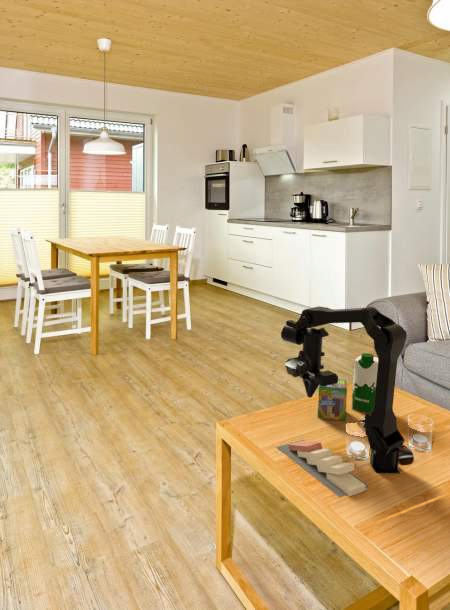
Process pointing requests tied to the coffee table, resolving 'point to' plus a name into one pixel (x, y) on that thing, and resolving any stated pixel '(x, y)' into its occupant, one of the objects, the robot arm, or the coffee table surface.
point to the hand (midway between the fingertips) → (309, 397)
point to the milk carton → (364, 382)
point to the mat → (313, 469)
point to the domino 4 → (337, 468)
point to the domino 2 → (315, 454)
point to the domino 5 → (346, 483)
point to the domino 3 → (326, 461)
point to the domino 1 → (305, 446)
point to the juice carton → (333, 401)
